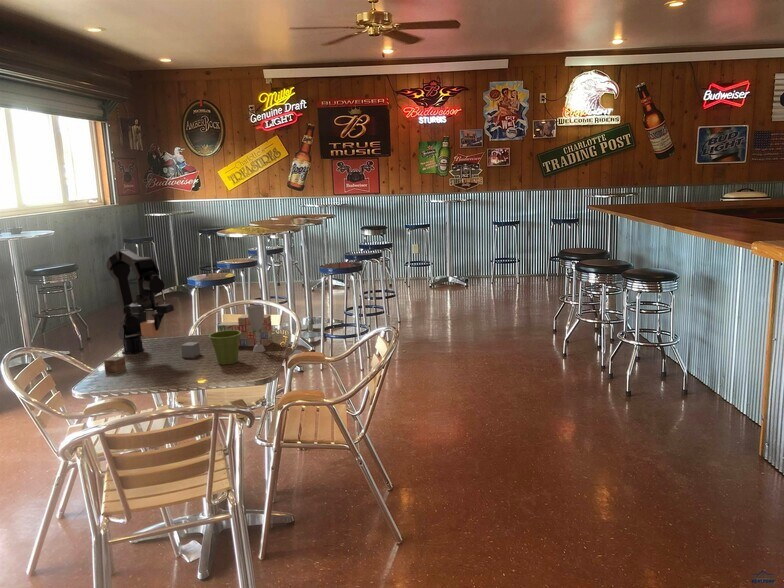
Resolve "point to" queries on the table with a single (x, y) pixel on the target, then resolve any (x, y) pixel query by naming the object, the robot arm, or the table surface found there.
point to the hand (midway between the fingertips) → (150, 330)
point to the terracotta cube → (149, 328)
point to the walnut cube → (115, 364)
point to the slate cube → (190, 349)
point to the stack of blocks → (250, 331)
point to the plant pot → (226, 346)
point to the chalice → (256, 323)
